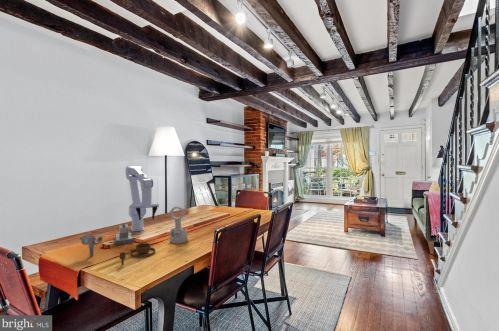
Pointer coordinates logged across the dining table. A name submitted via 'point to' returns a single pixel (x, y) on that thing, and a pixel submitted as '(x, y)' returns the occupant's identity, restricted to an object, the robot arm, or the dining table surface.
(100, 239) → the mechanical component
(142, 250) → the place setting
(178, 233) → the engine component
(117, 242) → the panel
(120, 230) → the housing
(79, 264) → the dining table surface
